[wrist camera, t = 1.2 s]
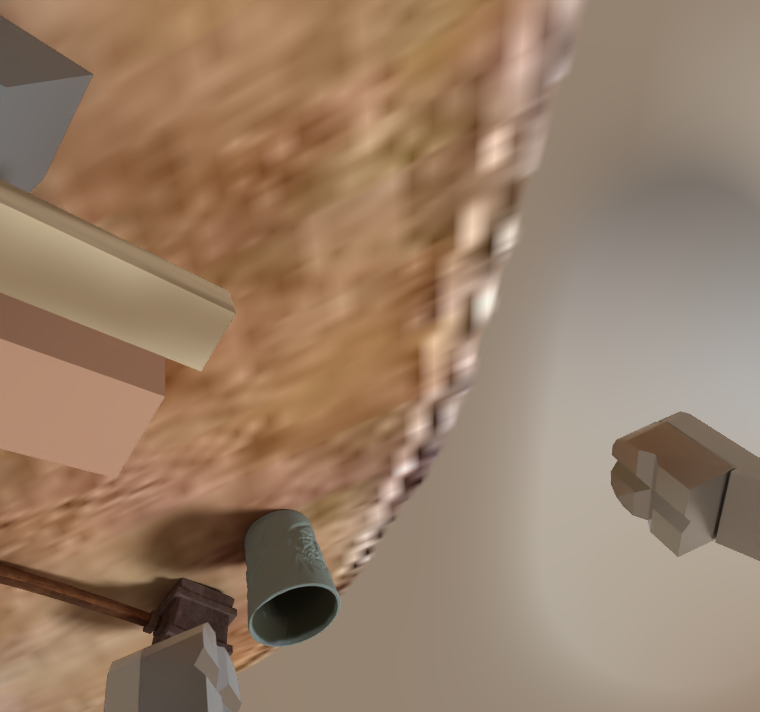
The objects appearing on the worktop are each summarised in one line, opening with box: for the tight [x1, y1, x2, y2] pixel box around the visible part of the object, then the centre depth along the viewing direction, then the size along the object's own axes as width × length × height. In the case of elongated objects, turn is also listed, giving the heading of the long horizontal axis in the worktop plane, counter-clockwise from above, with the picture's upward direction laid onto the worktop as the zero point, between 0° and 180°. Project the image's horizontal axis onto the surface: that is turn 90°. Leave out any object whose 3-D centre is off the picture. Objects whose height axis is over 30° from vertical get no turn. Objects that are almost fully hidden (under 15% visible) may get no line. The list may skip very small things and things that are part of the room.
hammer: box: [0, 564, 237, 656], centre depth 58 cm, size 7×33×10 cm, turn 50°
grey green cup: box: [244, 510, 341, 647], centre depth 62 cm, size 10×10×12 cm
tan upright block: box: [0, 293, 165, 478], centre depth 37 cm, size 7×20×18 cm, turn 54°
